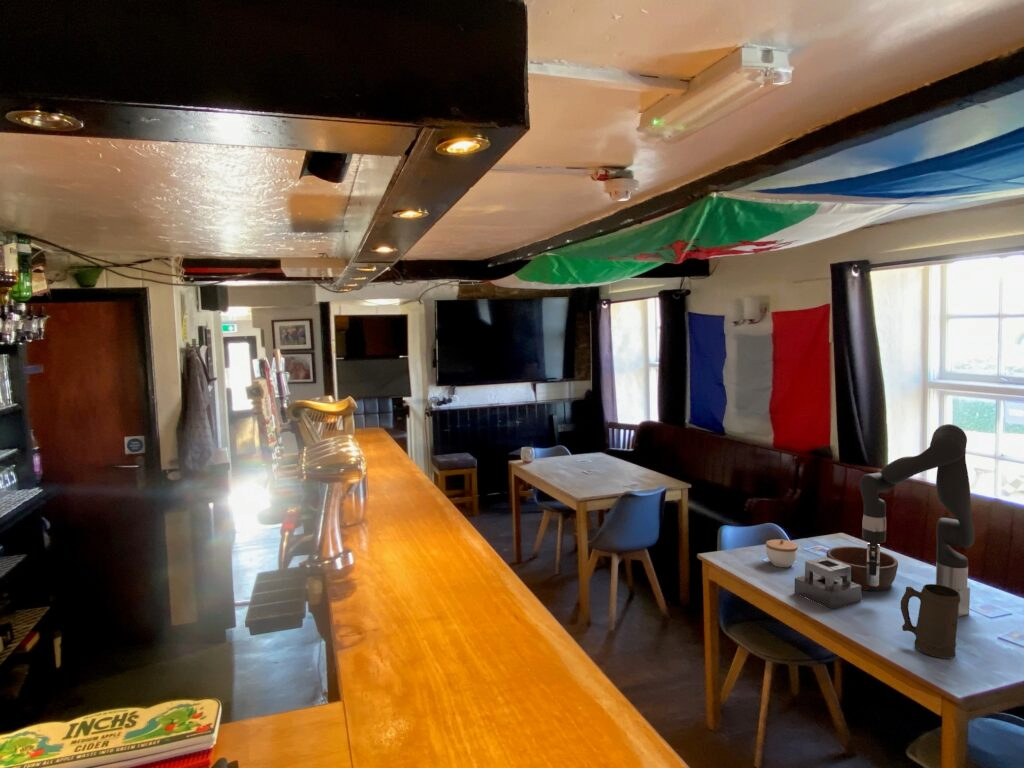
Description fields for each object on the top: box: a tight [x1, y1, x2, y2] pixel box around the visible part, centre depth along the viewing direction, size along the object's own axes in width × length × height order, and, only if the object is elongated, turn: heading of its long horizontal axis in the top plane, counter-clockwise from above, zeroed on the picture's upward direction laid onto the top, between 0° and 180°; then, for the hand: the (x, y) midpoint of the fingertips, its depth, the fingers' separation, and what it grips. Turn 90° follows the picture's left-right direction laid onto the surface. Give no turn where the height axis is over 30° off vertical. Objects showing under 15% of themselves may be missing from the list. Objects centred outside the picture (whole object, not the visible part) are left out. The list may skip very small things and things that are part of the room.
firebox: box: [794, 556, 862, 610], centre depth 235 cm, size 16×16×13 cm
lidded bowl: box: [765, 538, 799, 568], centre depth 268 cm, size 13×13×11 cm
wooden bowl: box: [826, 545, 899, 591], centre depth 249 cm, size 25×25×10 cm
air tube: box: [866, 550, 881, 586], centre depth 228 cm, size 4×4×14 cm
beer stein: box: [900, 583, 961, 659], centre depth 195 cm, size 15×11×20 cm
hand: (872, 572), depth 228 cm, fingers closed on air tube, 4 cm apart
